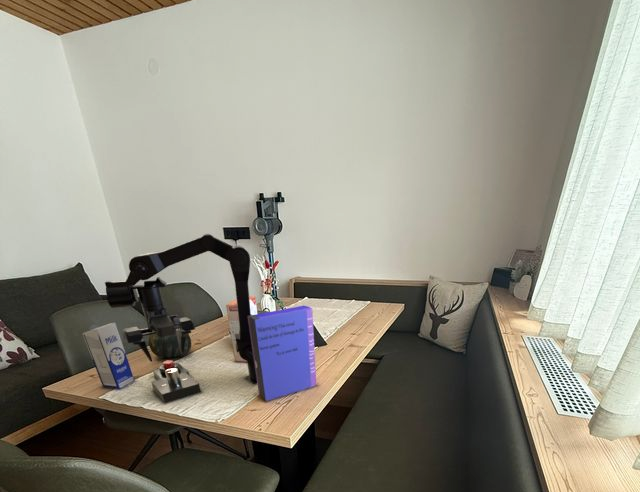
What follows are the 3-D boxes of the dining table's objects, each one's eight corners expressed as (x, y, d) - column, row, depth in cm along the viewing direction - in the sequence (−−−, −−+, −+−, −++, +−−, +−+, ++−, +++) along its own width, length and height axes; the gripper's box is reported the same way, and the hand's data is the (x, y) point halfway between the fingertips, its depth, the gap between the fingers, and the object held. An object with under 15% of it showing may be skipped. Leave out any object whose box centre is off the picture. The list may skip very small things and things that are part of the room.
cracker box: (249, 362, 131) (240, 304, 120) (234, 362, 132) (224, 304, 122) (263, 349, 143) (256, 295, 132) (248, 349, 144) (240, 295, 133)
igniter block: (190, 377, 121) (187, 366, 119) (162, 385, 116) (159, 373, 114) (180, 369, 128) (177, 358, 126) (154, 376, 123) (151, 365, 121)
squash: (142, 341, 140) (143, 316, 128) (180, 334, 149) (184, 310, 137) (157, 371, 138) (160, 348, 126) (194, 362, 146) (200, 340, 134)
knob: (178, 379, 113) (175, 366, 110) (182, 382, 110) (178, 369, 108) (166, 382, 111) (163, 369, 109) (170, 386, 108) (166, 372, 106)
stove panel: (201, 392, 111) (198, 383, 109) (164, 403, 105) (162, 393, 103) (187, 380, 119) (185, 371, 117) (153, 390, 113) (150, 381, 112)
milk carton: (119, 389, 115) (96, 328, 104) (102, 387, 116) (79, 327, 106) (135, 380, 120) (115, 321, 110) (119, 379, 122) (98, 320, 112)
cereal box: (308, 380, 115) (303, 304, 103) (316, 385, 112) (312, 307, 100) (259, 395, 107) (247, 315, 95) (266, 401, 104) (254, 318, 91)
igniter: (175, 367, 120) (174, 362, 119) (165, 369, 118) (164, 364, 118) (172, 364, 122) (171, 359, 121) (163, 366, 121) (161, 361, 120)
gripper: (123, 315, 89) (141, 373, 97) (196, 303, 99) (207, 357, 106) (113, 308, 96) (131, 362, 104) (182, 297, 106) (193, 348, 114)
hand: (167, 357), depth 107 cm, fingers open, 9 cm apart
